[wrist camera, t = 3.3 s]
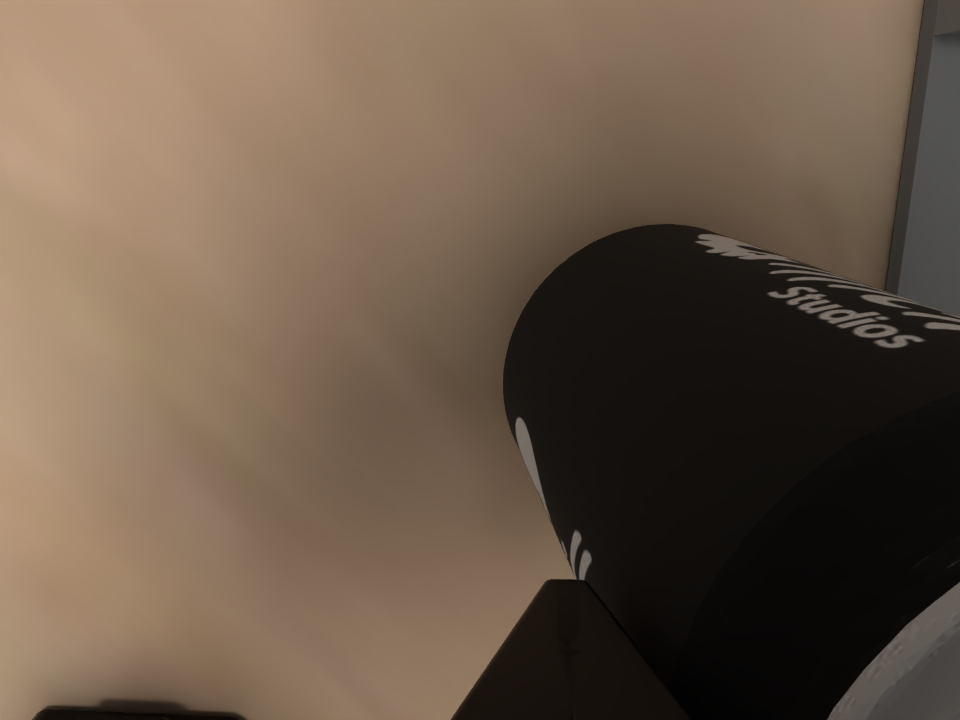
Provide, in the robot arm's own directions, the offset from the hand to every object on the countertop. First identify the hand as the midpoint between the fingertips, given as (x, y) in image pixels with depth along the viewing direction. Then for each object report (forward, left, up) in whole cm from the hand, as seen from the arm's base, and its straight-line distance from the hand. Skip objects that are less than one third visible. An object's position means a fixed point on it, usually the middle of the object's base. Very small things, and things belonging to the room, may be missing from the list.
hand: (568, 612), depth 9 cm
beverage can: (0, -2, -10) cm, 10 cm away
